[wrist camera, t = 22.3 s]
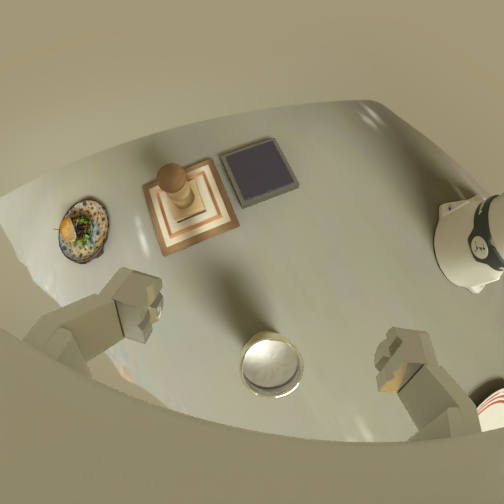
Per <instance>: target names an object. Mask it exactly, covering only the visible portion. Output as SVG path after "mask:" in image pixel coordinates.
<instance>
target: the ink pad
mask: <svg viewBox="0 0 504 504" xmlns="http://www.w3.org/2000/svg"><path fill="white" fill-rule="evenodd" d="M221 160H222V162H223V165H224V167H225V169H226V172H227V174H228V176H229V179H230V181H231V183H232V185H233V188H234V190H235V192H236V195H237V197H238V199H239V202H240V204H241V206H242V209H244V208H246V207H249V206H252V205H254V204H257V203H259V202H262V201H265V200H267V199H270V198H273V197H275V196H278V195H281V194H283V193H286V192H289V191H291V190H294V189H297V188H298V187H299V183H298V181H297V179H296V177H295V175H294V173H293V171H292V169H291V167H290V165H289V163H288V162H287V160H286V158H285V156H284V154H283V152H282V150H281V149H280V147H279V145H278V143H277V141H276V140H275V138H272V139H269V140H266V141H262V142H259V143H256V144H253V145H251V146H248V147H245V148H242V149H239V150H236V151H233V152H231V153H228V154H225V155H222V156H221Z"/></svg>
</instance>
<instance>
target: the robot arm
mask: <svg viewBox="0 0 504 504" xmlns="http://www.w3.org/2000/svg"><path fill="white" fill-rule="evenodd" d="M448 208H449V209H448ZM434 246H435V253H436V257H437V261H438V263H439V266H440V268H441V270H442V272H443V273H444V274H445V276H446V277H447V278H448V279H449V280H450V281H451V282H452V283H454V284H456V285H458V286H463V287H466V288H468V289H469V290H470V291H471V292H472V293H474V294H476V293H479V292H480V291H481V290H482V288H483V287H484V286H485V284H487V283H490V282H493V281H496V280H498V279H500V276H501V275H502V273H503V271H504V193H502V194H501V195H495V196H491V197H489V198H487V199H485V198H484V197H483V195H482V194H478V195H475V196H474V197H472V198H470V199H468V200H462V201H456V202H450V203H444V204H442V205H440V207H439V222H438V225H437V228H436V232H435V238H434ZM161 289H162V279H160V278H159V277H155V276H152V275H148V274H145V273H142V272H139V271H134V270H131V269H128V268H125V267H123V268H120V269H119V270H118V271H117V272H116V274H115V275H114V276H113V277H112V278H111V280H110V281H109V282H108V283H107V285H106V286H105V287H104V288H103V289H102V291H101V292H100V293H99V294H98V295H97V294H93V295H91V296H88V297H86V298H83V299H81V300H79V301H76V302H74V303H71V304H69V305H67V306H64V307H62V308H60V309H57V310H55V311H53V312H50V313H48V314H46V315H43V316H41V318H40V319H39V320H38V321H37V323H36V324H35V325H34V326H33V327H32V329H31V330H30V331H29V333H28V334H27V335H26V336H25V338H24V339H23V340H21V339H19V338H18V337H16V336H15V335H13V334H12V333H10V332H9V331H7V330H6V329H4V328H3V327H2V326H0V504H504V427H502V428H498V429H494V430H489V431H484V432H482V431H481V426H480V421H479V417H478V413H477V409H476V405H475V404H474V403H473V401H472V400H471V399H470V398H469V397H468V395H467V394H466V393H465V392H464V391H463V390H462V388H461V387H460V386H459V385H458V384H457V383H456V382H455V380H454V379H453V378H452V377H451V376H450V375H449V374H448V373H447V371H446V370H445V369H444V368H443V367H442V366H439V365H438V362H437V359H436V356H435V352H434V349H433V346H432V343H431V340H430V337H429V334H428V333H427V332H426V331H418V330H409V329H402V328H395V327H392V328H390V329H389V330H388V332H387V333H386V337H387V339H386V340H384V341H382V342H380V344H379V346H378V347H377V349H376V353H375V359H374V362H375V367H376V368H377V370H378V371H379V373H378V375H377V376H376V378H377V386H378V391H379V392H389V393H398V394H397V395H398V397H399V398H400V400H401V401H402V403H403V405H404V406H405V408H406V410H407V411H408V413H409V415H410V416H411V418H412V420H413V421H414V423H415V425H416V426H417V428H418V430H419V431H418V432H417V433H415V434H414V435H413V436H411V437H410V438H409V441H407V442H342V441H327V440H315V439H305V438H297V437H289V436H282V435H275V434H269V433H263V432H258V431H252V430H247V429H242V428H237V427H233V426H228V425H224V424H220V423H216V422H212V421H208V420H204V419H201V418H197V417H193V416H190V415H186V414H183V413H180V412H177V411H173V410H170V409H167V408H164V407H161V406H158V405H155V404H152V403H149V402H147V401H144V400H141V399H139V398H136V397H134V396H131V395H128V394H126V393H124V392H121V391H119V390H116V389H114V388H112V387H109V386H107V385H105V384H102V383H100V382H98V381H96V380H94V379H92V374H91V372H90V370H89V368H88V366H87V364H86V362H88V361H89V360H91V359H93V358H94V357H96V356H97V355H99V354H100V353H102V352H103V351H105V350H107V349H108V348H110V347H111V346H113V345H114V344H116V343H117V342H119V341H121V340H122V339H124V337H125V338H128V339H131V340H134V341H137V342H140V343H144V344H145V343H146V341H147V339H148V338H149V336H150V334H151V332H152V324H153V323H155V322H157V321H158V319H159V317H160V315H161V312H162V309H163V296H162V294H161V293H160V290H161Z"/></svg>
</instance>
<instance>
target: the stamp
mask: <svg viewBox="0 0 504 504" xmlns="http://www.w3.org/2000/svg"><path fill="white" fill-rule="evenodd" d="M157 183H158V186H159V187H160V189H161V190H163V191H164V192H165V193H166V196H167V199H168V202H169V206H170V209H171V212H172V215H173V218H174V220H175V221H176V222H177V223H180V222H182V221H185V220H187V219H189V218H192V217H194V216H197V215H199V214H202V213H204V212H206V209H205V206H204V203H203V201H202V198H201V195H200V193H199V190H198V187H197V185H196V183H195V180H191V181H189V182H188V181H187V179H186V173H185V171H184V169H183V168H182V167H181V166H180V165H178V164H174V163H170V164H167V165H164V166H163V167H162V168H161V169H160V170H159V172H158V174H157Z"/></svg>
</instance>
